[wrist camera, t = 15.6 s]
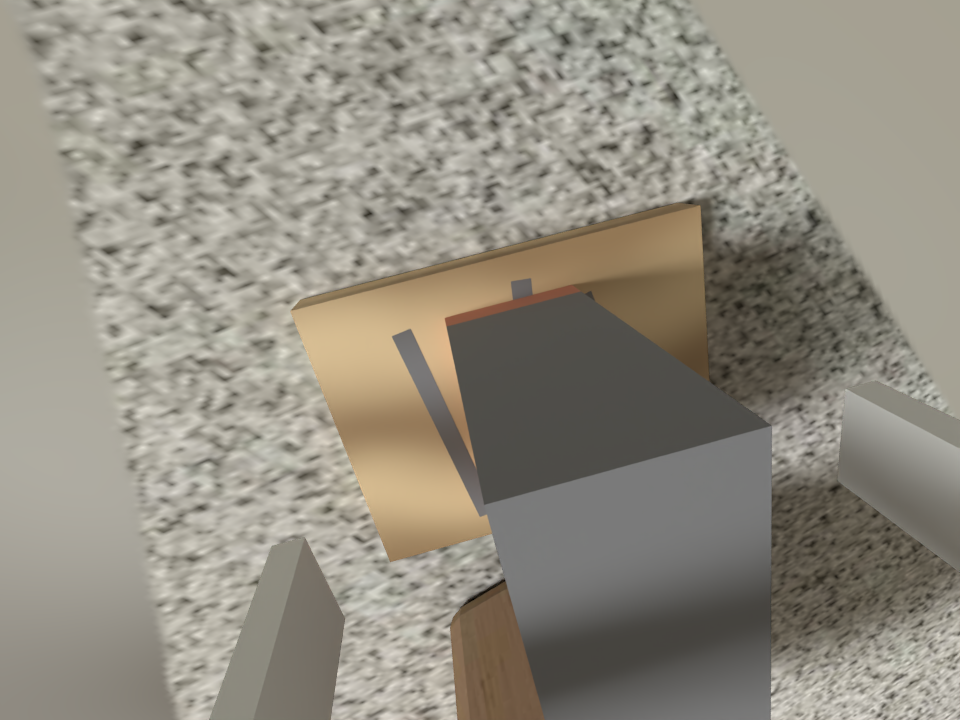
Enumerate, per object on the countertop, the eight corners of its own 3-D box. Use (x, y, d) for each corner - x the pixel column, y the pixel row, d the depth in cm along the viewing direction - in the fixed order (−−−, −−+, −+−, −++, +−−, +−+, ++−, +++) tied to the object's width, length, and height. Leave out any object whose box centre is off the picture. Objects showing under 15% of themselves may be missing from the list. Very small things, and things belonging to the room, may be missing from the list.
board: (300, 300, 17) (290, 311, 16) (677, 202, 18) (700, 205, 16) (391, 536, 21) (390, 562, 20) (694, 453, 22) (714, 472, 20)
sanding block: (444, 317, 16) (484, 504, 7) (571, 284, 17) (771, 426, 7) (494, 503, 19) (568, 803, 10) (601, 473, 20) (770, 742, 10)
